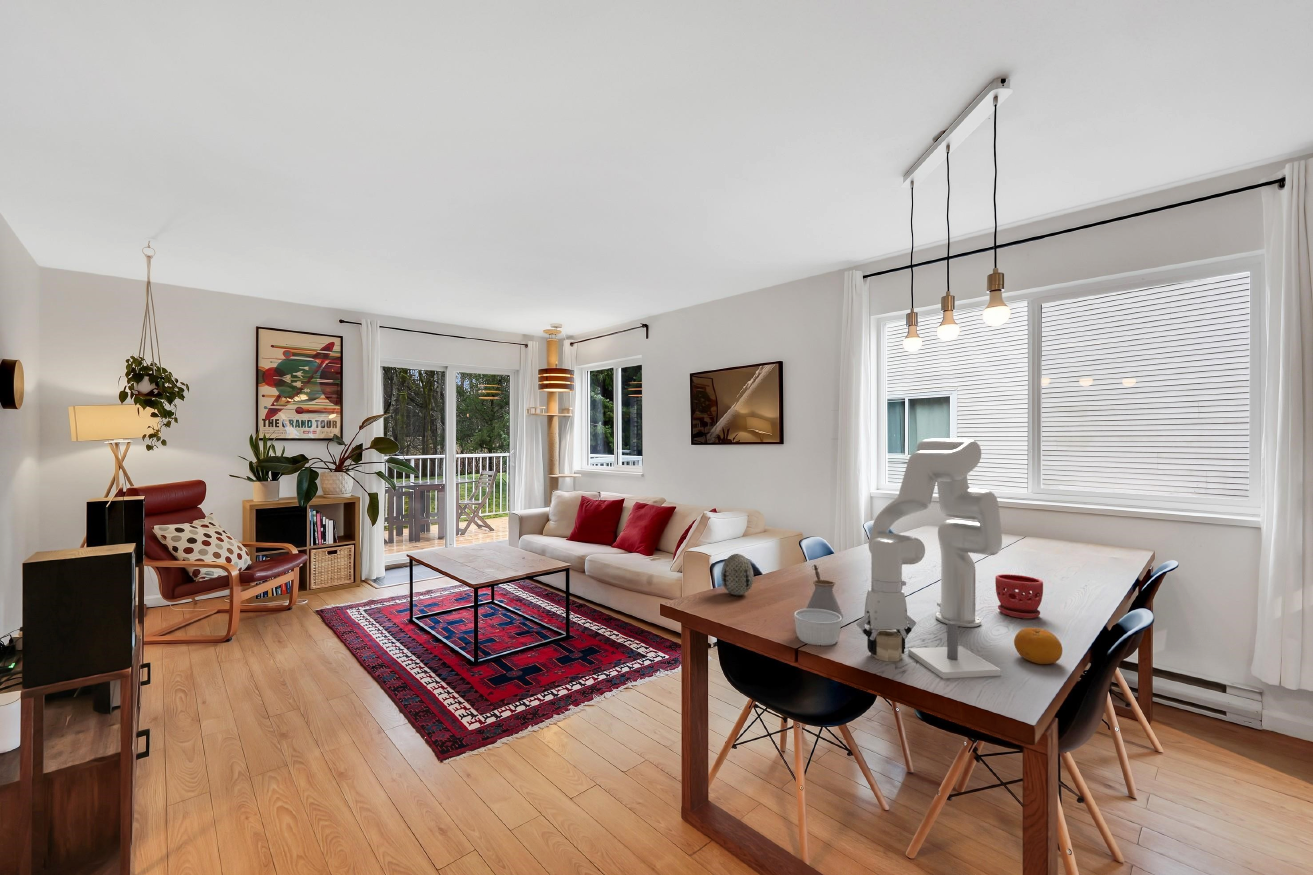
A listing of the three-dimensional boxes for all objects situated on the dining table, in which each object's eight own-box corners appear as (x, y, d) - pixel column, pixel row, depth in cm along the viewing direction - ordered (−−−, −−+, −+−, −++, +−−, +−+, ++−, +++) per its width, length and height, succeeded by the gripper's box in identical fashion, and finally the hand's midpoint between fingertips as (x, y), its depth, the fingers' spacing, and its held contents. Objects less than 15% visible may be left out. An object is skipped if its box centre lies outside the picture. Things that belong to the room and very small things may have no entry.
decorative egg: (760, 596, 202) (760, 555, 202) (734, 601, 197) (734, 558, 196) (739, 588, 213) (739, 549, 212) (714, 593, 207) (714, 552, 207)
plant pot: (1052, 621, 176) (1052, 582, 176) (1010, 620, 176) (1010, 582, 176) (1026, 608, 189) (1026, 572, 189) (986, 607, 189) (987, 572, 189)
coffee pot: (847, 630, 167) (847, 580, 167) (807, 629, 168) (807, 579, 168) (832, 608, 188) (832, 564, 188) (797, 607, 189) (797, 563, 189)
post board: (908, 654, 149) (908, 614, 149) (960, 651, 151) (960, 612, 151) (943, 678, 134) (943, 634, 134) (1000, 675, 136) (1001, 632, 136)
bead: (867, 651, 151) (867, 629, 151) (891, 650, 152) (891, 628, 152) (880, 661, 144) (880, 638, 144) (906, 660, 145) (906, 637, 145)
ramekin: (806, 627, 170) (806, 605, 170) (849, 637, 161) (849, 613, 161) (786, 640, 160) (786, 616, 160) (831, 651, 151) (831, 626, 151)
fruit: (1009, 660, 145) (1009, 629, 145) (1019, 649, 152) (1019, 620, 152) (1058, 672, 138) (1058, 640, 138) (1066, 660, 145) (1066, 630, 145)
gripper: (909, 580, 153) (909, 645, 153) (848, 582, 151) (848, 648, 151) (925, 588, 145) (925, 656, 145) (861, 590, 143) (861, 659, 143)
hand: (886, 652), depth 148 cm, fingers closed on bead, 7 cm apart
